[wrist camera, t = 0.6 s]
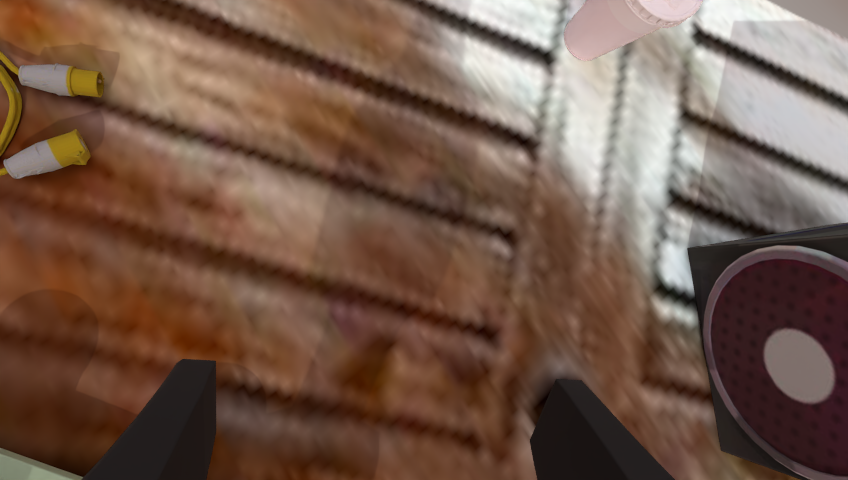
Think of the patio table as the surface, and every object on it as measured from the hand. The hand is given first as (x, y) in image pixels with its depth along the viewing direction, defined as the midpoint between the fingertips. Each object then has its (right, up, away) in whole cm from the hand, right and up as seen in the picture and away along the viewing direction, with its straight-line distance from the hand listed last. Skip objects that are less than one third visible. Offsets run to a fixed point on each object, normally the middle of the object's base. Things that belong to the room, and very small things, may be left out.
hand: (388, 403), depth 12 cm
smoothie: (+14, +20, +33) cm, 41 cm away
